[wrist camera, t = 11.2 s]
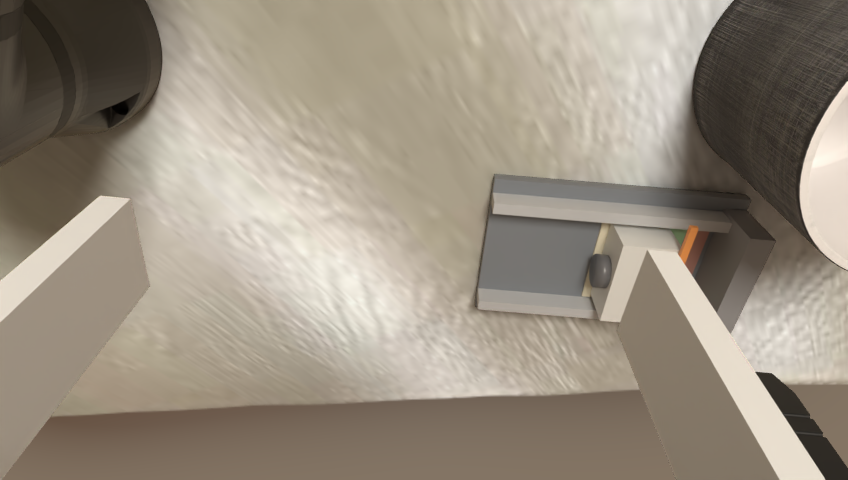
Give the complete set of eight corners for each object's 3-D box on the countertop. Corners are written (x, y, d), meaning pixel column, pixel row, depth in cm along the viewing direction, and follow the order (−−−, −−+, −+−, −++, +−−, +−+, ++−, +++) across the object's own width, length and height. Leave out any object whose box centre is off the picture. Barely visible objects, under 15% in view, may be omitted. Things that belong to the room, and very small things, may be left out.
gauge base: (474, 300, 55) (477, 341, 50) (494, 174, 47) (499, 206, 42) (692, 318, 55) (717, 361, 49) (745, 194, 47) (781, 230, 42)
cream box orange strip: (574, 312, 53) (584, 345, 49) (607, 195, 46) (621, 221, 42) (636, 317, 53) (650, 350, 49) (678, 200, 46) (699, 228, 42)
